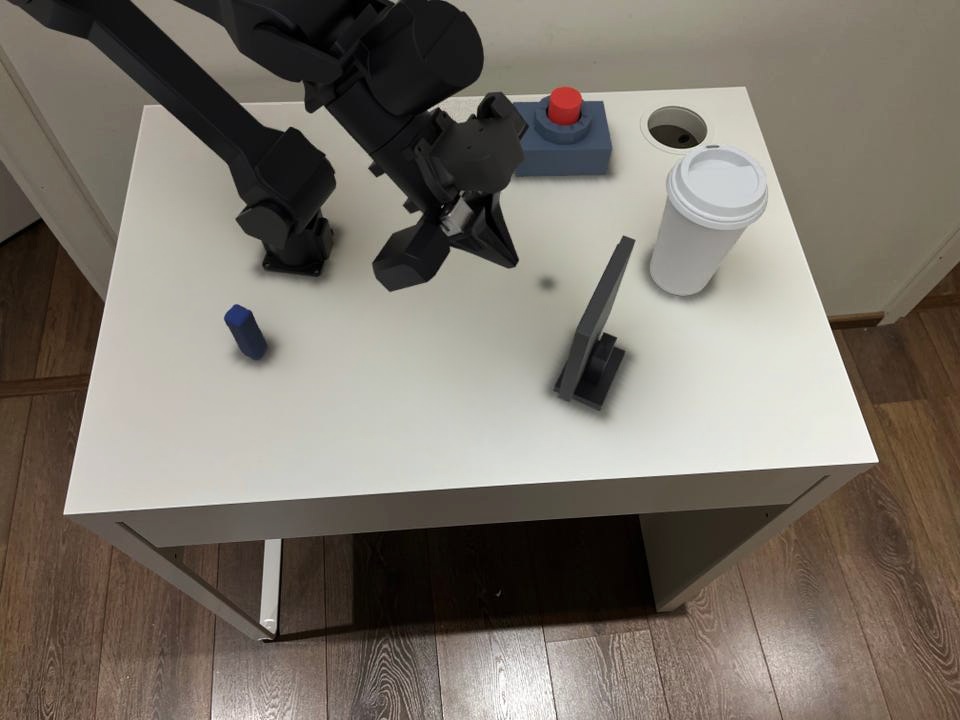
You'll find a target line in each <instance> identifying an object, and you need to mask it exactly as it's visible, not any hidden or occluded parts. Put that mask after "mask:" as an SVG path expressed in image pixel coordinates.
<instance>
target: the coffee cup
mask: <svg viewBox="0 0 960 720" xmlns="http://www.w3.org/2000/svg"><path fill="white" fill-rule="evenodd" d="M665 189H666V194H667V196H666V199H665V204H664V209H663V212H662V216H661V220H660V224H659V228H658V231H657V236H656V240H655V244H654V247H653V252H652V256H651V260H650V264H649V272H650V276H651V278H652V280H653V281H654V283H655V284H656V285H657V286H658V287H659V288H660V289H662V290H663V291H665V292H666V293H668V294H671V295H675V296H682V297H683V296H691V295H695V294H697V293H699V292H701V291H702V290H703V289H704V288H705V287H706V286H707V284H708V283H709V282H710V280H711V279H712V277H713V276H714V274H715V273H716V272H717V270H718V269H719V268H720V265H721V264H722V263H723V262H724V260H725V259H726V258H727V256H728V254H730V252H731V250H733V248H734V246H735V245H736V243H737V242H738V241H739V239H740V238H741V237H742V235H743V234H744V233H745V232H746V229H747V228H748V227H749V226H750V225H752V224H754V223H756V222H757V221H758V220H759V219H760V218H761V217H762V216H763V214H764V213H765V211H766V208H767V206H768V201H769V187H768V179H767V174H766V172H765V170H764V168H763V166H762V165H761V163H760V162H759V161H758V160H757V159H756V158H755V157H754V156H753V155H751V154H750V153H748V152H747V151H745V150H743V149H741V148H739V147H737V146H736V147H735V146H732V145H729V144H724V143H723V144H722V143H708V144H704V145H703V144H702V145H699V146H697V147H695V148H694V149H691V150H690V151H689V152H688V153H687V154H685V155H683V156H682V157H681V158H679V159H678V160H677V161H676V162H675V163H674V165H673V166H672V167H671V168H670V170H669V172H668V173H667V176H666V179H665Z"/></svg>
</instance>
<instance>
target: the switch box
mask: <svg viewBox="0 0 960 720" xmlns="http://www.w3.org/2000/svg"><path fill="white" fill-rule="evenodd" d="M550 95H551V94H549V95H547V96H544V97H542V98H541V99H540V100H539V101H513V102H512V104H513V105H514V106H515V107H516V108H517V110H518V112H519V113H520V115H521V116H522V117H523V119H524V120H525V121H526V122H527V124H528V125H529V128H528V129H527V131H526V133H525V134H524V136H523V137H522V139H521V141H520V143H521V145H522V148H523V150H524V153H525V158H524V160H523V162H522V163H519V165H518V166H517V168H516V170H515V171H514V176H515V177H537V176H538V177H543V176H544V177H545V176H549V177H550V176H596V175H597V176H598V175H599V176H600V175H607V171H608V169H609V164H610V160H611V157H612V153H613V143H612V139H611V134H610V129H609V123H608V118H607V112H606V108H605V103H604V100H585V99H583V98H582V103H581V108H580V113H579V118H578V120H577V122H576V123H574V124H572V125H558V124H555V123H553V122H552V121H551V120H550V119H549V117H548V109H549V102H550Z"/></svg>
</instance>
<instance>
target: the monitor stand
mask: <svg viewBox="0 0 960 720" xmlns="http://www.w3.org/2000/svg"><path fill="white" fill-rule="evenodd" d="M617 339H618V337H617V336H615V335H613V334H610V333H607V332H605V331H604V332H603V331H602V333H601V336H600V338H599V339H598V341H597V344H596V346H595V348H594V350H593V352H592V354H591V357H590V359H589V361H588V363H587V365H586V367H585V370H584V372H583V374H582V376H581V378H580V380H579V383H578V385H577V387H576V389H575V391H574V393H573V396H572V398H571V400H574V401H575V402H578V403H581V404H583V405H586V406H588V407H590V408H592V409H595V410H597V411H601V409H602V407H603V405H604V403H605V400H606V398H607V396H608V393H609V391H610V389H611V386H612V384H613V382H614V379H615V378H616V375H617V372H618V370H619V368H620V365H621V364H622V361H623V359H624V356H625V354H626V352H627V351H626V350H624V349H622V348H620V347H618V346H616V343H617ZM567 360H568V358H567V359H566V361H565V364H564V366H563V368H562V370H561V372H560V373H559V376H558V378H557V379H556V382H555V384H554V386H553V392H554V393H555V392H556V393H558V394H559V391H560V385H561V381H562V378H563V374H564V371H565V367H566V363H567Z"/></svg>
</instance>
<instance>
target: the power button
mask: <svg viewBox="0 0 960 720" xmlns="http://www.w3.org/2000/svg"><path fill="white" fill-rule="evenodd" d="M549 95H550V102H549V109H548V117H549V119H550V120H551V121H552V122H553V123H555V124H558V125H572V124H574V123H576V122H577V120H578V118H579V113H580V108H581V103H582V99H583V96H582V94H581V92H580V91H579V90H577V89H576V88H573V87H570V86H559V87H556V88H555V89H553V90H552V91H551V93H550V94H549Z"/></svg>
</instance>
